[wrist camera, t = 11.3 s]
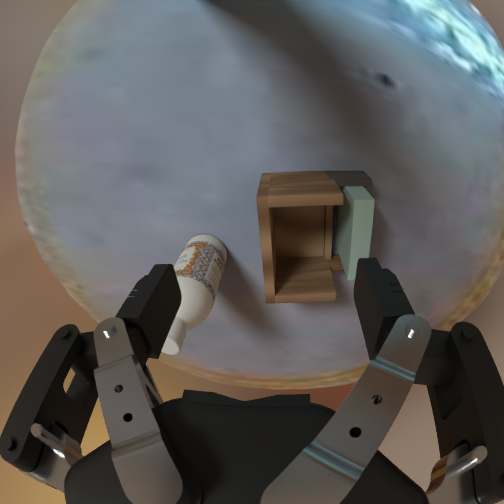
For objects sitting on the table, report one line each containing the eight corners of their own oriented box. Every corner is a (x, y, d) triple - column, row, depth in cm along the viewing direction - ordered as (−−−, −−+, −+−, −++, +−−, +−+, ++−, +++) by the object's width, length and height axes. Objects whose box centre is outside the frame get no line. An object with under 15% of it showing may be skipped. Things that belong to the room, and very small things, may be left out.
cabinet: (261, 173, 37) (256, 197, 29) (363, 171, 36) (387, 194, 27) (269, 262, 45) (266, 303, 36) (356, 258, 43) (372, 298, 34)
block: (338, 177, 37) (354, 199, 29) (358, 177, 36) (378, 199, 29) (336, 246, 42) (347, 280, 34) (354, 245, 42) (368, 279, 34)
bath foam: (210, 225, 42) (165, 316, 25) (236, 258, 45) (210, 357, 28) (178, 246, 45) (126, 335, 28) (204, 275, 47) (168, 370, 30)
